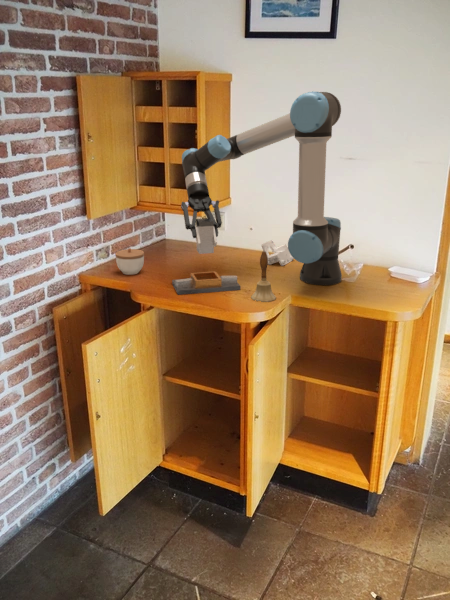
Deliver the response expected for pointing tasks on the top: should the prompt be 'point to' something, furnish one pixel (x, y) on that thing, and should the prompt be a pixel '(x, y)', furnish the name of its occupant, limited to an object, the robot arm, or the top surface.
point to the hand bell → (263, 283)
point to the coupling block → (205, 235)
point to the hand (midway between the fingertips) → (207, 244)
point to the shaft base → (205, 283)
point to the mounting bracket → (277, 253)
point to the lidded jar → (130, 260)
